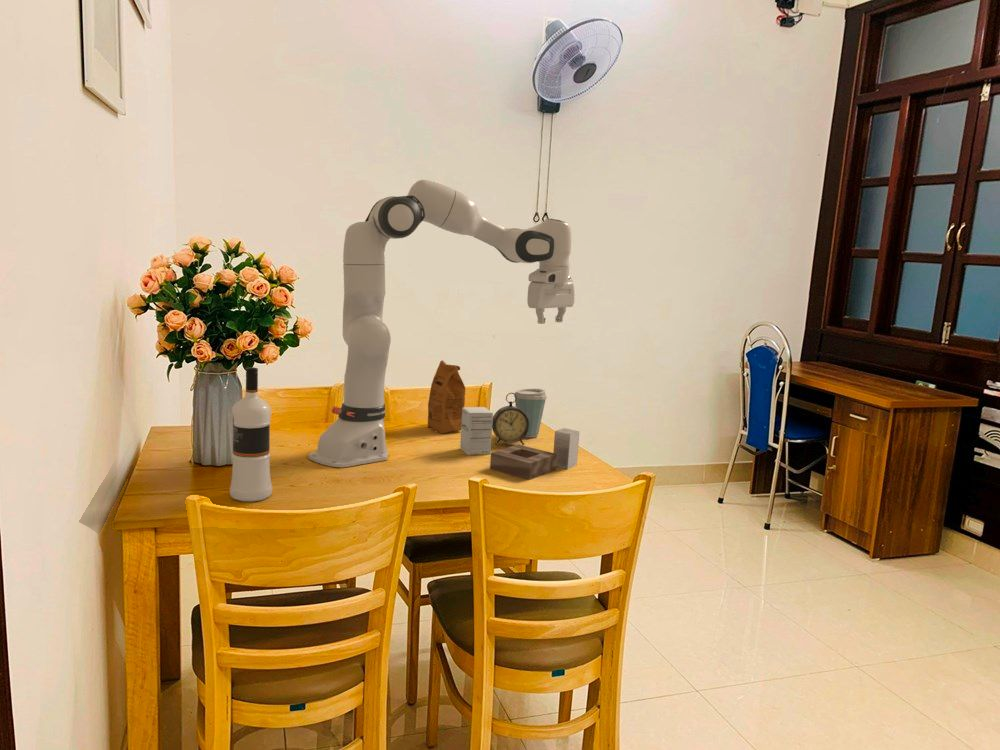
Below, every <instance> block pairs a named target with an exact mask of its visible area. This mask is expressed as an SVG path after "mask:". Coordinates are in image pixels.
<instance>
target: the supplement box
mask: <svg viewBox="0 0 1000 750" xmlns="http://www.w3.org/2000/svg"><path fill="white" fill-rule="evenodd" d="M493 416H494V412H492V411H491V410H490V409H488V408H487V407H486V406H469V407H468V406H464V407H463V408H462V425H461V430H460V442H459V443H460V446H459V448H460V449H461V450H462V451H463V452H464V453H465V454H466V455H468V456H472V455H471V454H483V455H491V453H492V436H493V435H492V434H493V429H492V422H493Z"/></svg>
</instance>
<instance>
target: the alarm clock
mask: <svg viewBox="0 0 1000 750" xmlns="http://www.w3.org/2000/svg"><path fill="white" fill-rule="evenodd" d="M509 395H513V396H514V395H515V392H509V393H508V394H507V395H506V396H505V401H506V402H507V403H508V404H509V405H506V406H505V405H504V406H503V407H501V408H499V409H498V410H497V411H496V412H495V413H493V422H492V433H494V435H495V436H496V437H497V438H498V439H497V440H496V443H494V445H495V446H498V444H499V443H500V442H503V443H506V444H515V443H518V442H520V443H521V445H523V446H525V443H524V441H523V439H524V438H526V437H525V435H526V434H527V432H528V429H529V420H528V417H527V415H526V414H525V413H524V412H523V411H522V410H520V409H519V408H517V407H516V406H513V404H514V403H515V401H516V399H517V397H516V395H515V397H516V399H515V397H514V401H508V396H509Z"/></svg>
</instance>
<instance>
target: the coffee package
mask: <svg viewBox="0 0 1000 750" xmlns="http://www.w3.org/2000/svg"><path fill="white" fill-rule="evenodd" d="M460 370H461V366H459V365H457V364H448V363H446V362H445V361H444V360H443V359H442V360H440V362H439V364H438V366H437V369H436V371H435V374H434V376H433V379H432V383H431V386H430V391H429V396H428V403H427V427H428V428H430V427H431V428H430V429H432V431H433V430H434V431H433V432H435V431H437V432H436V433H439V432H440V434H447V433H451V432H461V425H462V408H463V407H465V405H466V385H465V383H464V381H463V379H462V378H461V375H460V373H459V371H460Z"/></svg>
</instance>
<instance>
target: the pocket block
mask: <svg viewBox="0 0 1000 750" xmlns="http://www.w3.org/2000/svg"><path fill="white" fill-rule="evenodd" d="M556 462H557V454H555V453H553V452H551V451H548V450H547V451H546V450H542V449H540V448H539V449H538V448H535V447H531V446H526V445H522V444H519V443H518V444H515V445H512V446H509V447H505V448H502V449H499V450H496V451H491V453H490V462H489V469H490V468H491V469H490V470H493V469H494V470H493V471H496V470H497V472H501V473H503V474H508V475H511V476H515V477H518V478H522V479H526V480H528V481H529V480H533V479H535V478H537V477H540V476H543V475H545V474H548V473H551V472H554V471H556V470H557V466H556Z"/></svg>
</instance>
